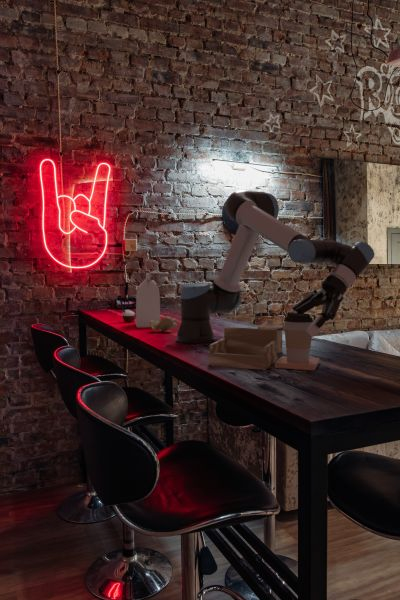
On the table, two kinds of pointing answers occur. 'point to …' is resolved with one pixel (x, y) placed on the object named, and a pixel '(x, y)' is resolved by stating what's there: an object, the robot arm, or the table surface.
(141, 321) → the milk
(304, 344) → the coffee cup
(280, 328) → the teacup with lid
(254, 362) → the frame
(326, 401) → the table surface
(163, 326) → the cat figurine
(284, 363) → the terracotta tile
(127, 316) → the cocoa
